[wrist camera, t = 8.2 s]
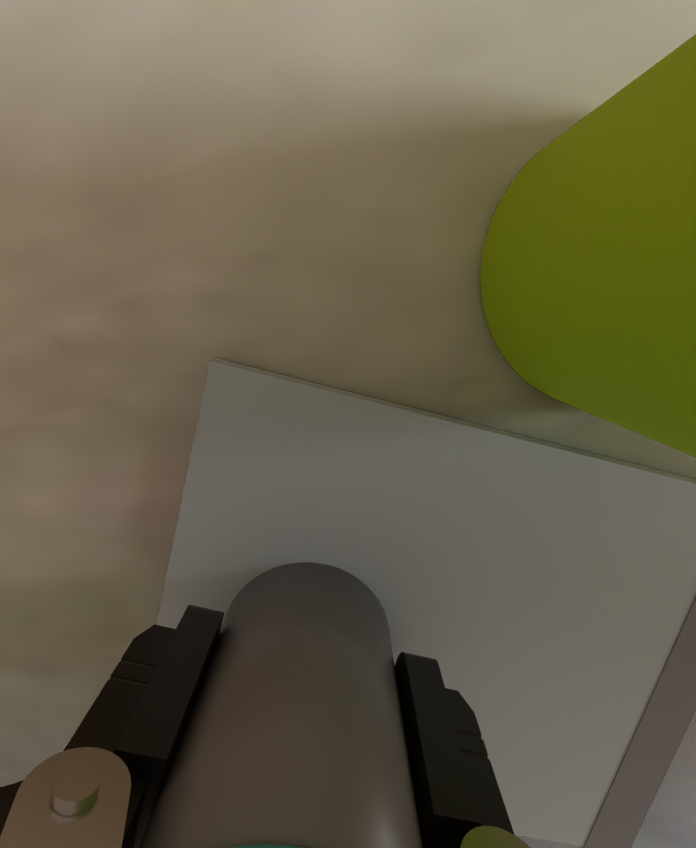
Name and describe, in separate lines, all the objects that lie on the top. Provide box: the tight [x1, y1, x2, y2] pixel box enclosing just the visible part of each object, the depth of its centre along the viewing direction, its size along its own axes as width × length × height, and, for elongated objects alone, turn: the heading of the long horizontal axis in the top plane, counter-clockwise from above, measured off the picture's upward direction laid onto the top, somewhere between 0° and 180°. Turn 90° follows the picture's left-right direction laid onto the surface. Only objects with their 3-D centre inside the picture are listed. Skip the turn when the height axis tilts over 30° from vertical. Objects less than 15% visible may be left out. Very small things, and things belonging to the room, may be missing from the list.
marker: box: [139, 562, 423, 848], centre depth 8 cm, size 4×4×7 cm
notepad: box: [156, 358, 696, 848], centre depth 12 cm, size 13×10×1 cm
